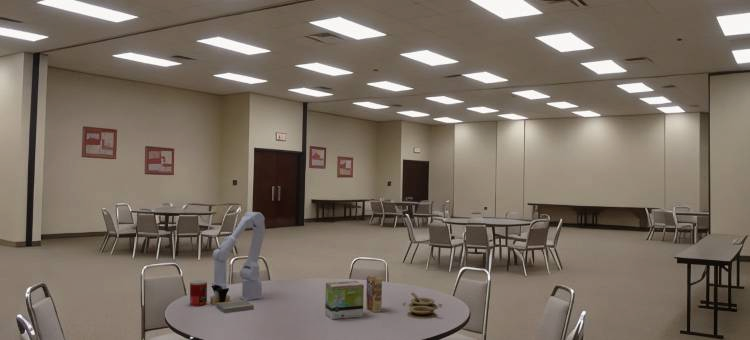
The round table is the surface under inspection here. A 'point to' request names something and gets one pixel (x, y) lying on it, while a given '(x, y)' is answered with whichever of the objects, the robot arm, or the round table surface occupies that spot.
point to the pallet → (216, 300)
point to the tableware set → (422, 307)
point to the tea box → (344, 299)
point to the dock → (235, 306)
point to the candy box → (374, 294)
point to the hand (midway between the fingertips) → (220, 301)
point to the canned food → (198, 293)
